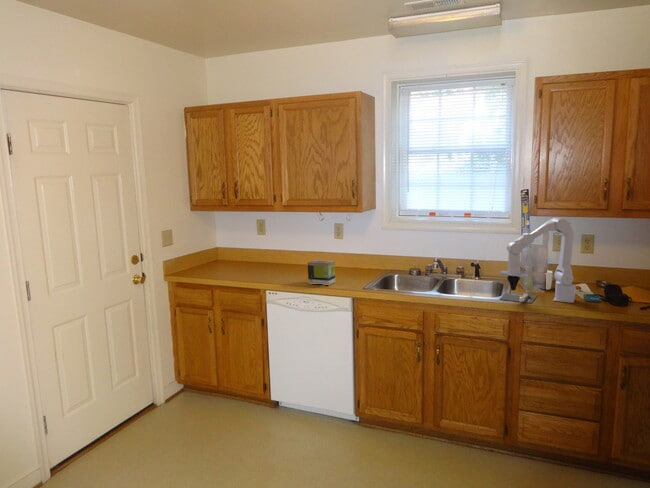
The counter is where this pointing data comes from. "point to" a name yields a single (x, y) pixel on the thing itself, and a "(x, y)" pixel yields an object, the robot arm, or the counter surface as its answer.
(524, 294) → the lever
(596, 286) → the counter surface
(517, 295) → the lock plate
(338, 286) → the counter surface
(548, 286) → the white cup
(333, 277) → the tea box
